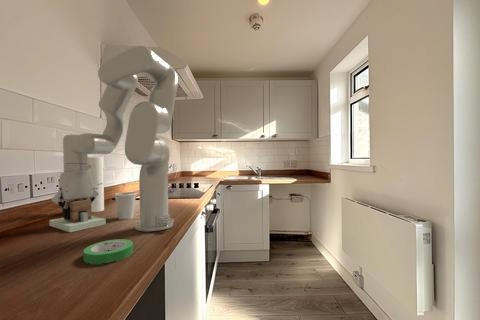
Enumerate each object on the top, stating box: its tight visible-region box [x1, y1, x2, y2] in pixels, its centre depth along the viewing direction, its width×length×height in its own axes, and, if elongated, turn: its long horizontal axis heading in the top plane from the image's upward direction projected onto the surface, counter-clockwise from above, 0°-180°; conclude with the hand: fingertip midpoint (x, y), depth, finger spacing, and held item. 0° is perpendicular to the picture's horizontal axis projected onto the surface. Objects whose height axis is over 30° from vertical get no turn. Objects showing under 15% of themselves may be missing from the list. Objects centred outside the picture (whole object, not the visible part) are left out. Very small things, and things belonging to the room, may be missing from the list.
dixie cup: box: [113, 191, 137, 220], centre depth 105 cm, size 8×8×10 cm
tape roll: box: [82, 238, 134, 265], centre depth 64 cm, size 11×11×3 cm
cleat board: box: [49, 211, 107, 233], centre depth 94 cm, size 16×12×5 cm
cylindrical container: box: [88, 156, 105, 213], centre depth 120 cm, size 7×7×25 cm
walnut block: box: [65, 199, 93, 222], centre depth 94 cm, size 7×6×8 cm
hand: (77, 216), depth 94 cm, fingers closed on walnut block, 6 cm apart
